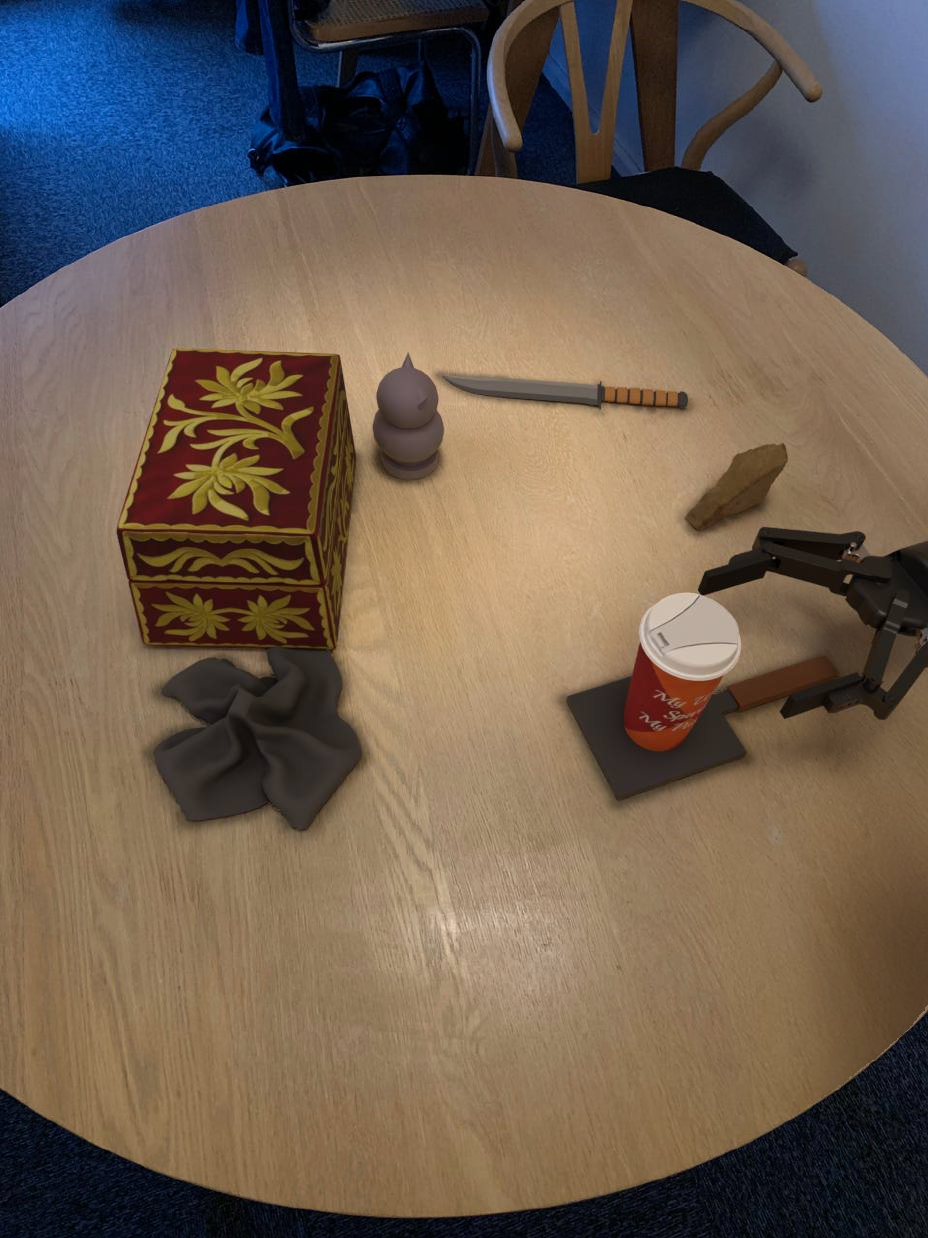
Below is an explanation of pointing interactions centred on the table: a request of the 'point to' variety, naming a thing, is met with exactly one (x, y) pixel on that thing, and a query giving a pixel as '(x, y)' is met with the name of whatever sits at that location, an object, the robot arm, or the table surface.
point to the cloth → (259, 737)
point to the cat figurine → (408, 422)
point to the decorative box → (242, 502)
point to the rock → (740, 485)
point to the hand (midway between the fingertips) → (742, 642)
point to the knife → (566, 391)
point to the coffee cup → (678, 668)
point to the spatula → (704, 743)
